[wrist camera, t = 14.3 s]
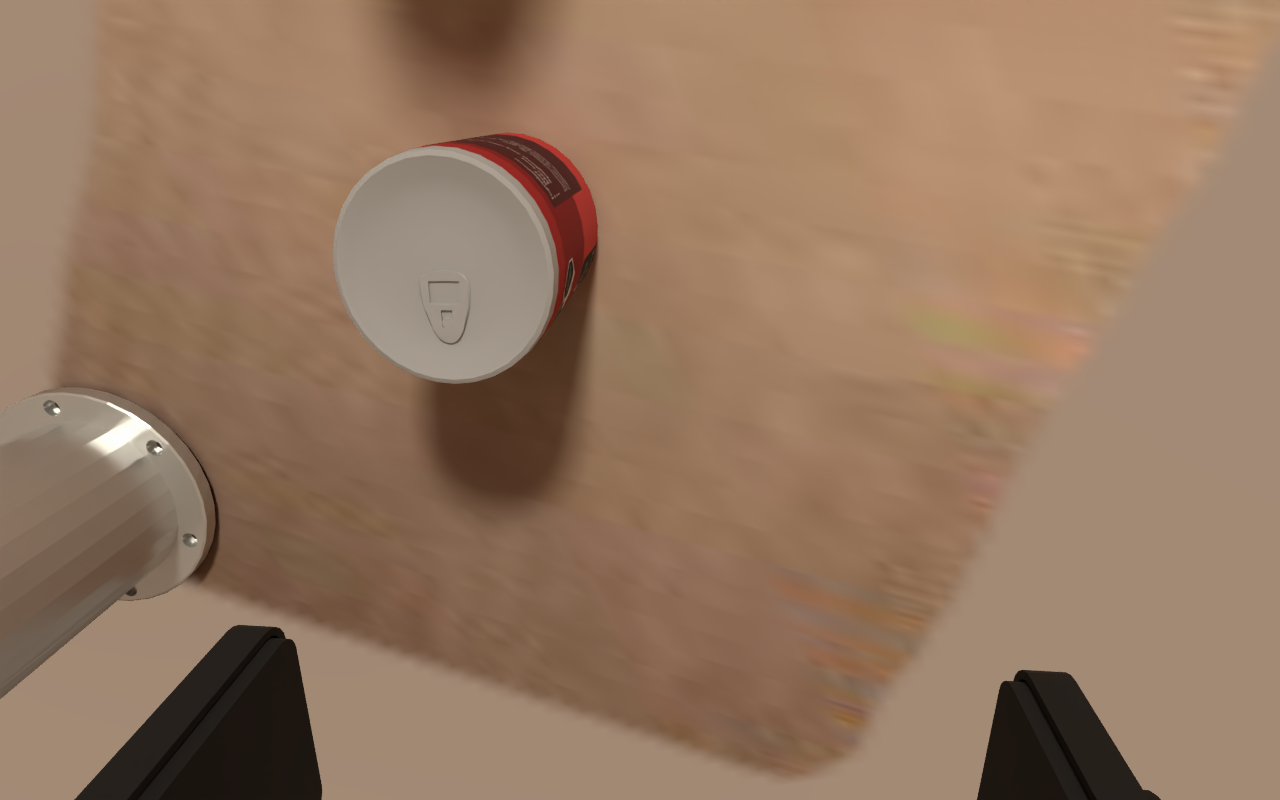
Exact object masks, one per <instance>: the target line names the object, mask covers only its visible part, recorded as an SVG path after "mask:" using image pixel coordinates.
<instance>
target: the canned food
mask: <svg viewBox="0 0 1280 800" xmlns="http://www.w3.org/2000/svg"><path fill="white" fill-rule="evenodd" d="M597 228H598V224H597V217H596V209H595V205H594V202H593V199H592V196H591V193H590V190H589V188H588V186H587V184H586V183H585V181H584V179H583V177H582V175H581V174H580V172H579V171H578V170H577V169H576V167H575V166H574V165H573V164H572V162H571V161H570V160H569V159H568V158H567V157H565V156H564V155H563V154H562V153H561V152H560V151H558V150H557V149H556V148H554V147H553V146H551V145H549V144H547V143H545V142H544V141H542V140H540V139H537V138H534V137H530V136H527V135H524V134H514V133H502V134H494V135H487V136H481V137H475V138H469V139H463V140H456V141H450V142H444V143H438V144H432V145H426V146H422V147H418V148H413V149H410V150H407V151H405V152H402V153H399V154H397V155H394V156H391V157H390V158H388V159H386V160H385V161H383V162H382V163H380V164H379V165H377V166H376V167H374V168H373V169H371V170H370V171H368V172H367V173H366V174H365V176H364V177H363V178H362V179H361V180H360V181H359V182H358V183H357V184H356V185H355V186H354V187H353V189H352V191H351V192H350V194H349V196H348V198H347V199H346V201H345V203H344V204H343V206H342V209H341V212H340V215H339V218H338V221H337V224H336V227H335V235H334V244H333V261H334V274H335V278H336V282H337V286H338V290H339V294H340V297H341V299H342V301H343V303H344V306H345V308H346V310H347V312H348V315H349V317H350V318H351V320H352V321H353V323H354V324H355V326H356V327H357V329H358V330H359V332H360V333H361V335H362V336H363V337H364V338H365V339H366V340H367V341H368V343H369V344H370V345H371V346H372V347H373V348H374V349H375V350H376V351H377V352H378V353H379V354H381V355H382V356H383V357H385V358H386V359H387V360H388V361H390V362H391V363H392V364H394V365H395V366H397V367H399V368H401V369H403V370H405V371H407V372H409V373H411V374H412V375H414V376H418V377H421V378H424V379H428V380H431V381H434V382H443V383H452V384H459V383H470V382H477V381H480V380H483V379H487V378H490V377H493V376H496V375H497V374H499V373H501V372H503V371H504V370H506V369H508V368H510V367H512V366H513V365H514V364H515V363H517V362H518V361H519V360H520V359H522V358H523V357H524V356H525V355H526V354H527V353H528V352H530V351H531V350H532V349H533V347H534V346H535V345H536V343H537V342H538V341H539V340H540V339H541V337H542V336H543V335H544V333H545V332H546V330H547V329H548V328H549V326H550V325H551V324H552V322H553V321H554V319H555V318H556V316H557V315H558V314H559V312H560V311H561V309H562V308H563V306H564V305H565V304H566V302H567V301H568V299H569V298H570V296H571V295H572V294H573V292H574V291H575V289H576V288H577V286H578V285H579V284H580V282H581V281H582V279H583V278H584V276H585V275H586V273H587V271H588V269H589V266H590V264H591V262H592V260H593V256H594V252H595V248H596V244H597Z"/></svg>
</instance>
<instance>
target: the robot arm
mask: <svg viewBox="0 0 1280 800" xmlns="http://www.w3.org/2000/svg"><path fill="white" fill-rule="evenodd" d="M215 524H216V522H215V506H214V501H213V498H212V494H211V490H210V486H209V484H208V481H207V479H206V477H205V475H204V473H203V471H202V469H201V467H200V465H199V463H198V462H197V460H196V459H195V457H194V456H193V454H192V453H191V452H190V450H189V449H188V447H187V446H186V445H185V444H184V443H183V442H182V440H181V439H180V438H179V437H178V436H177V435H176V434H175V433H174V432H173V431H172V430H171V429H170V428H169V427H168V426H166V425H165V424H164V423H163V422H161V421H160V420H159V419H158V418H156V417H155V416H154V415H153V414H151V413H150V412H148V411H146V410H144V409H143V408H141V407H139V406H138V405H136V404H134V403H132V402H131V401H128V400H126V399H123V398H121V397H118V396H115V395H113V394H110V393H107V392H103V391H98V390H93V389H89V388H74V387H62V388H56V389H51V390H45V391H42V392H40V393H37V394H35V395H32V396H30V397H27V398H25V399H22V400H21V401H19V402H17V403H15V404H14V405H12V406H10V407H8V408H7V409H6V410H5V411H4V412H3V413H2V414H1V415H0V699H1V698H2V697H3V696H5V695H6V694H7V693H8V692H9V691H11V690H12V689H13V688H14V687H15V686H16V685H18V684H19V683H20V682H21V681H22V680H24V679H25V678H26V677H27V676H28V675H29V674H30V673H32V672H33V671H34V670H35V669H37V668H38V667H39V666H40V665H41V664H43V663H44V662H45V661H46V660H47V659H48V658H49V657H51V656H52V655H53V654H54V653H55V652H57V651H58V650H59V649H60V648H61V647H63V646H64V645H65V644H66V643H67V642H68V641H70V640H71V639H72V638H73V637H74V636H76V635H77V634H78V633H79V632H80V631H81V630H83V629H84V628H85V627H86V626H87V625H89V624H90V623H91V622H92V621H93V620H95V619H96V618H97V617H98V616H99V615H101V614H102V613H103V612H104V611H105V610H106V609H108V608H109V607H110V606H111V605H112V604H114V603H115V602H116V601H117V600H127V601H133V600H141V599H148V598H152V597H155V596H158V595H161V594H164V593H167V592H169V591H170V590H172V589H173V588H175V587H177V586H178V585H180V584H181V583H183V582H184V581H185V580H186V579H187V578H188V577H189V576H190V575H191V574H192V573H194V572H195V571H196V570H197V568H198V567H199V566H200V564H201V563H202V562H203V561H204V559H205V558H206V556H207V554H208V552H209V549H210V547H211V544H212V542H213V537H214V531H215ZM321 797H322V784H321V780H320V774H319V768H318V763H317V757H316V752H315V747H314V741H313V736H312V730H311V726H310V720H309V714H308V709H307V703H306V698H305V693H304V687H303V683H302V676H301V671H300V666H299V660H298V655H297V649H296V646H295V643H294V642H293V640H291V639H286V638H285V635H284V632H282V630H281V629H280V628H277V627H265V626H247V625H237V626H234V627H232V628H231V629H230V630H228V631H227V632H226V633H225V634H224V636H223V637H222V638H221V639H220V640H219V641H218V642H217V643H216V644H215V646H214V647H213V648H212V649H211V650H210V651H209V652H208V653H207V654H206V655H205V657H204V658H203V659H202V660H201V661H200V662H199V663H198V664H197V665H196V666H195V667H194V669H193V670H192V671H191V672H190V673H189V674H188V675H187V676H186V677H185V679H184V680H183V681H182V682H181V683H180V684H179V685H178V686H177V687H176V689H175V690H174V691H173V692H172V693H171V694H170V695H169V696H168V697H167V698H166V700H165V701H164V702H163V703H162V704H161V705H160V706H159V707H158V708H157V709H156V711H155V712H154V713H153V714H152V715H151V716H150V717H149V718H148V719H147V720H146V722H145V723H144V724H143V725H142V726H141V727H140V728H139V729H138V730H137V731H136V733H135V734H134V735H133V736H132V737H131V738H130V739H129V740H128V741H127V742H126V744H125V745H124V746H123V747H122V748H121V749H120V750H119V751H118V752H117V753H116V755H115V756H114V757H113V758H112V759H111V760H110V761H109V762H108V763H107V765H106V766H105V767H104V768H103V769H102V770H101V771H100V772H99V773H98V774H97V776H96V777H95V778H94V779H93V780H92V781H91V782H90V783H89V784H88V785H87V787H86V788H85V789H84V790H83V791H82V792H81V793H80V794H79V795H78V796H77V798H76V799H75V800H321ZM977 800H1161V799H1160V798H1159V797H1158V796H1157V795H1155V794H1154V793H1152V792H1151V791H1149V790H1143V789H1142V788H1141V786H1140V784H1139V783H1138V781H1137V780H1136V778H1135V776H1134V775H1133V773H1132V771H1131V770H1130V768H1129V767H1128V765H1127V763H1126V762H1125V760H1124V759H1123V757H1122V755H1121V754H1120V752H1119V751H1118V749H1117V747H1116V746H1115V744H1114V742H1113V741H1112V739H1111V737H1110V736H1109V734H1108V733H1107V731H1106V729H1105V728H1104V726H1103V725H1102V723H1101V721H1100V720H1099V718H1098V716H1097V715H1096V713H1095V712H1094V710H1093V708H1092V707H1091V705H1090V704H1089V702H1088V700H1087V699H1086V697H1085V695H1084V694H1083V692H1082V691H1081V689H1080V687H1079V686H1078V684H1077V682H1076V681H1075V680H1074V679H1073V677H1072V676H1071V675H1070V674H1068V673H1066V672H1047V671H1031V670H1021V671H1018V672H1017V674H1016V675H1015V678H1014V681H1004V682H1003V683H1002V684H1001V686H1000V689H999V694H998V699H997V704H996V709H995V714H994V719H993V724H992V729H991V734H990V738H989V743H988V748H987V753H986V758H985V763H984V768H983V773H982V778H981V783H980V788H979V793H978V798H977Z"/></svg>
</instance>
